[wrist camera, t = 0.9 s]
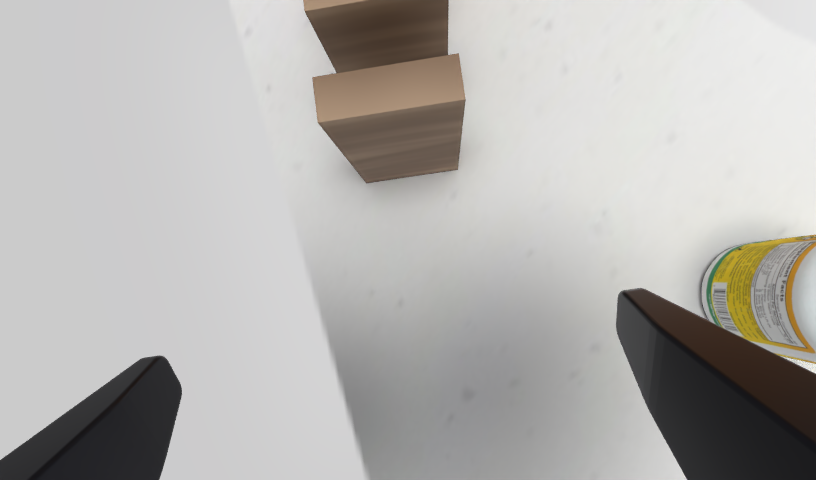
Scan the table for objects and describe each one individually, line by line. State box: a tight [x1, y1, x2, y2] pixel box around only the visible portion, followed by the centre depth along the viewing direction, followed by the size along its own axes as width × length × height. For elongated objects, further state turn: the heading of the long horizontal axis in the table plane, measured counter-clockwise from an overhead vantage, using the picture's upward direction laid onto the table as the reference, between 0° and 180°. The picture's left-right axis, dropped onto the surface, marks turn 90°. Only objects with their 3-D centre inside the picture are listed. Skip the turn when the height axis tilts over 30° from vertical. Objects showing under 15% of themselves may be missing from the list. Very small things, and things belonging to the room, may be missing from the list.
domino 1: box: [303, 0, 448, 73], centre depth 21 cm, size 2×5×10 cm, turn 98°
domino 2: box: [312, 53, 465, 183], centre depth 21 cm, size 2×5×10 cm, turn 98°
